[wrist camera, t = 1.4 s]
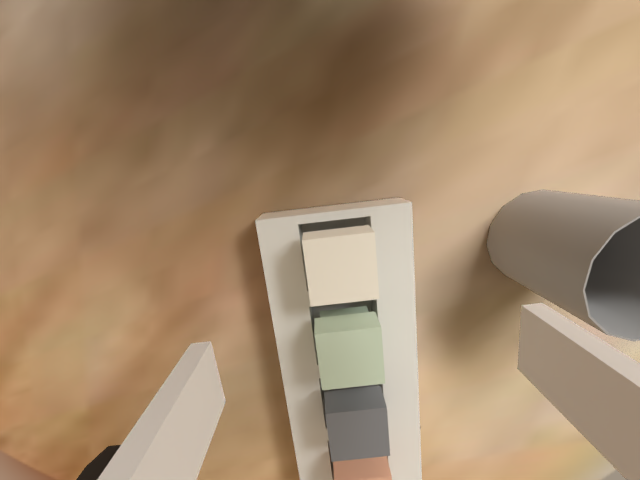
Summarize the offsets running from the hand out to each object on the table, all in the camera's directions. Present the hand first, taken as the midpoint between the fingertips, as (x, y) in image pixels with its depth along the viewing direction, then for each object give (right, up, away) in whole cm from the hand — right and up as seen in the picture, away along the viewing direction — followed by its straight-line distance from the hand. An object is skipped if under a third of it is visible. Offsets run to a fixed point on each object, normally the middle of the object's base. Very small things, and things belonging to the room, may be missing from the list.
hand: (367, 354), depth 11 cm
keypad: (+1, -6, +18) cm, 19 cm away
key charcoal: (+1, -10, +16) cm, 19 cm away
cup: (+18, +5, +16) cm, 24 cm away
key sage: (0, -3, +14) cm, 15 cm away
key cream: (0, +3, +13) cm, 13 cm away
